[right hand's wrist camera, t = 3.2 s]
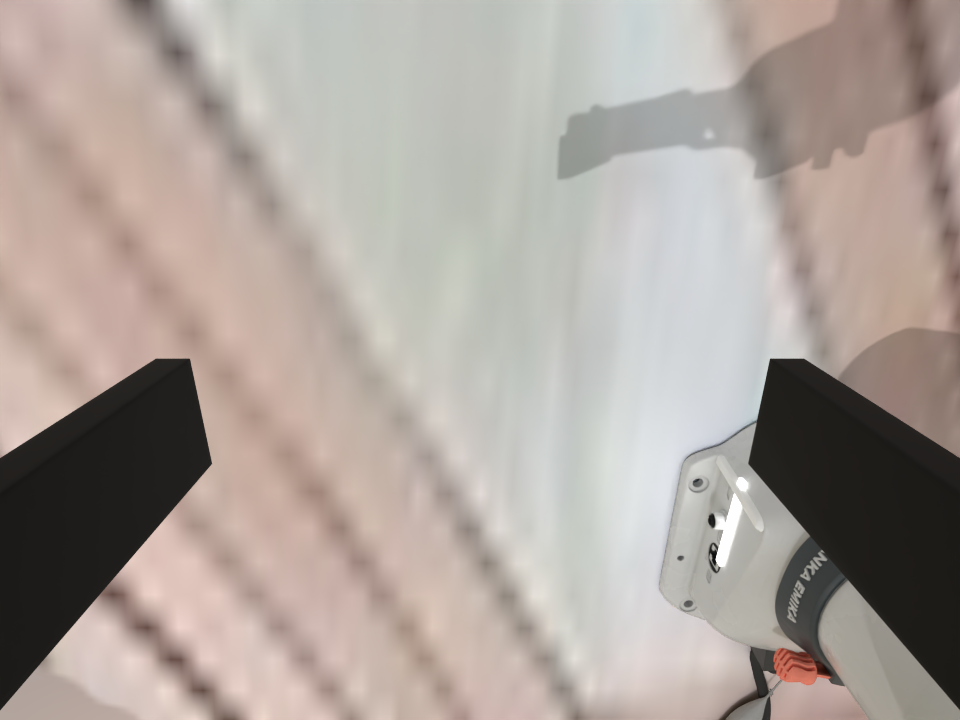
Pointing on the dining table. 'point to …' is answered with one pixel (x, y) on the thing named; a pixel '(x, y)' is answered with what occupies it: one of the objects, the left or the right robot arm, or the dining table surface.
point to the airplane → (751, 708)
